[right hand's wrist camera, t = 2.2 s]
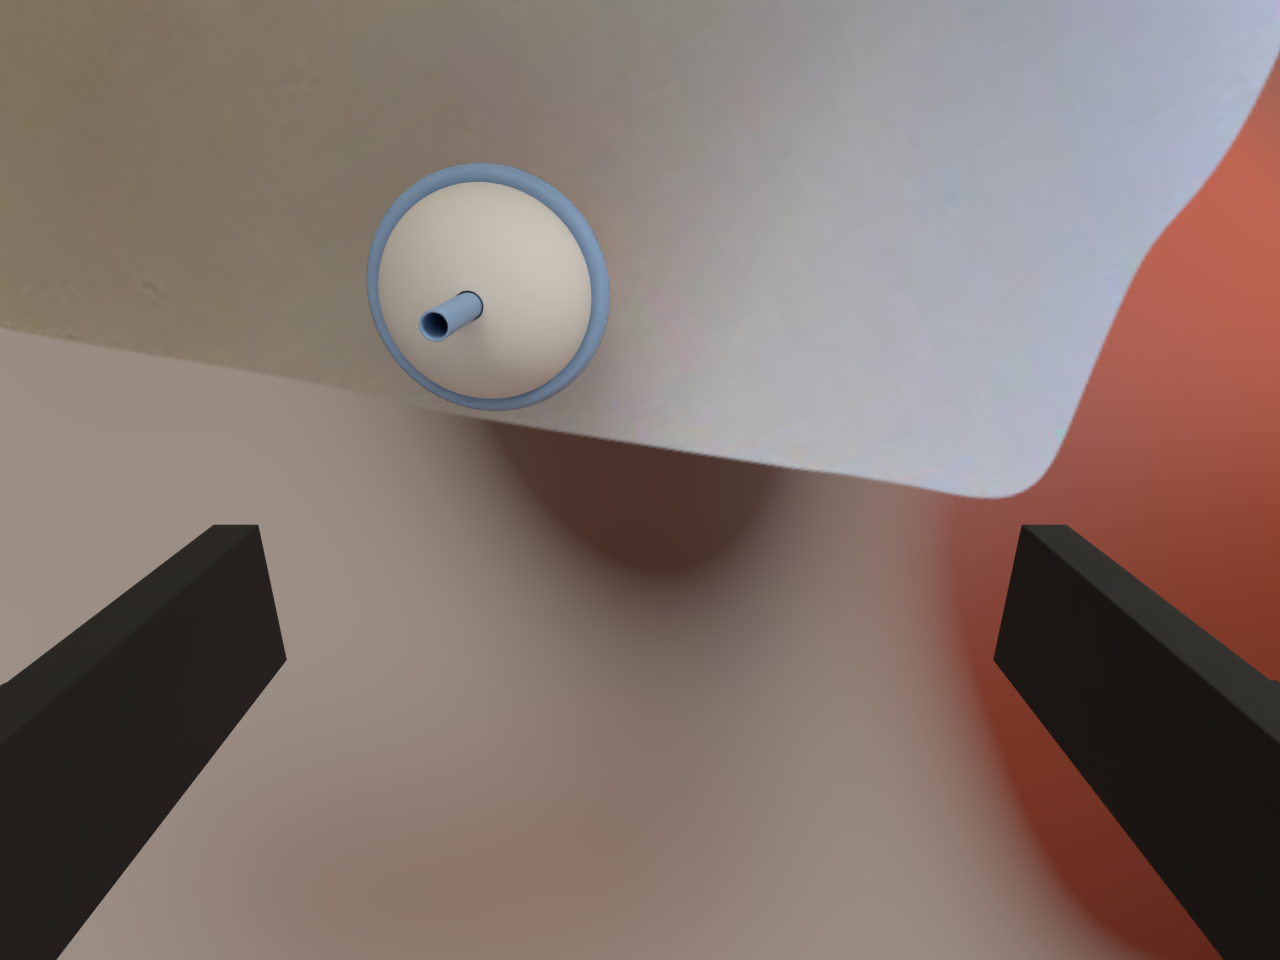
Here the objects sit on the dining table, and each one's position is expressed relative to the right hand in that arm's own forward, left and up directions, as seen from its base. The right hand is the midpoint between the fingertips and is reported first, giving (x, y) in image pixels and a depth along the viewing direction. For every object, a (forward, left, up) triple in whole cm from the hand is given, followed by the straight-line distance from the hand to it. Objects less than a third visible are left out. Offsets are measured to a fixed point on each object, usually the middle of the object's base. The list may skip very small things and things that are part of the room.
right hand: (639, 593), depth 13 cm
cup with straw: (-3, -6, -27) cm, 28 cm away
